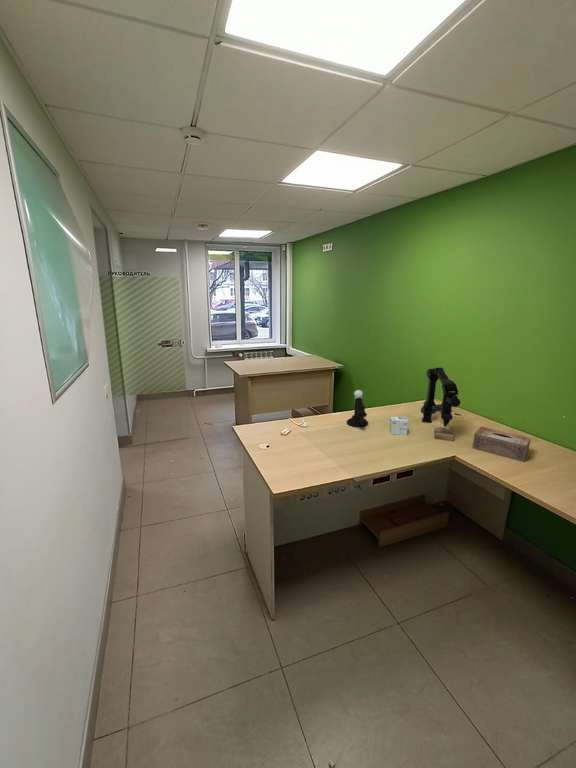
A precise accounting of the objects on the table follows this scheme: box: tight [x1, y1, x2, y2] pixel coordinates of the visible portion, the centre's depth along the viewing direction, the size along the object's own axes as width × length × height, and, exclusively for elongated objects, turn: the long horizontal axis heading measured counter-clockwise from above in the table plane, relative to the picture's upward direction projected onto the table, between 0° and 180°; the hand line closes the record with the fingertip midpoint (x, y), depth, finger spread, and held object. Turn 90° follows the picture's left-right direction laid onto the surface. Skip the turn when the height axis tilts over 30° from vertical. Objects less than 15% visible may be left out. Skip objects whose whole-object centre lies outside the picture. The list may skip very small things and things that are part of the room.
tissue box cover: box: [471, 426, 532, 463], centre depth 197 cm, size 26×14×10 cm, turn 47°
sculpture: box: [346, 389, 369, 428], centre depth 234 cm, size 15×24×25 cm, turn 1°
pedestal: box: [433, 428, 455, 442], centre depth 217 cm, size 11×11×3 cm
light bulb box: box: [389, 416, 409, 436], centre depth 223 cm, size 11×7×11 cm, turn 84°
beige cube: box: [439, 417, 451, 430], centre depth 215 cm, size 5×5×6 cm
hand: (444, 424), depth 216 cm, fingers closed on beige cube, 5 cm apart
